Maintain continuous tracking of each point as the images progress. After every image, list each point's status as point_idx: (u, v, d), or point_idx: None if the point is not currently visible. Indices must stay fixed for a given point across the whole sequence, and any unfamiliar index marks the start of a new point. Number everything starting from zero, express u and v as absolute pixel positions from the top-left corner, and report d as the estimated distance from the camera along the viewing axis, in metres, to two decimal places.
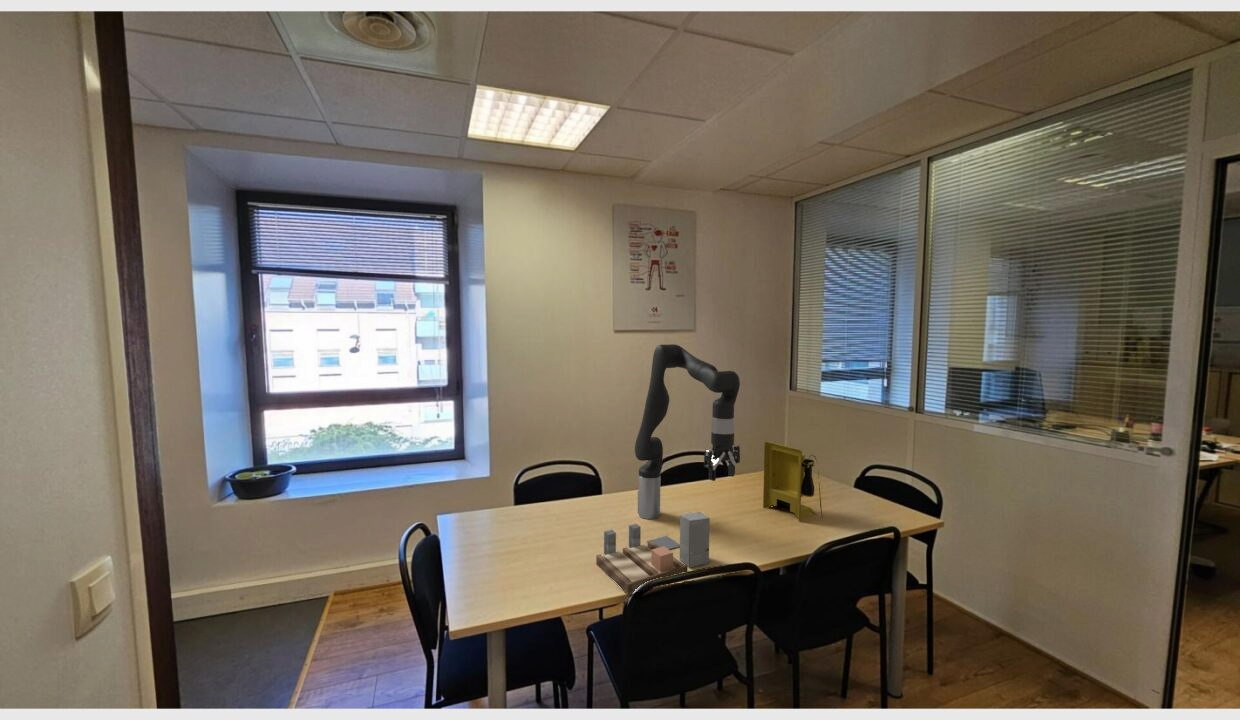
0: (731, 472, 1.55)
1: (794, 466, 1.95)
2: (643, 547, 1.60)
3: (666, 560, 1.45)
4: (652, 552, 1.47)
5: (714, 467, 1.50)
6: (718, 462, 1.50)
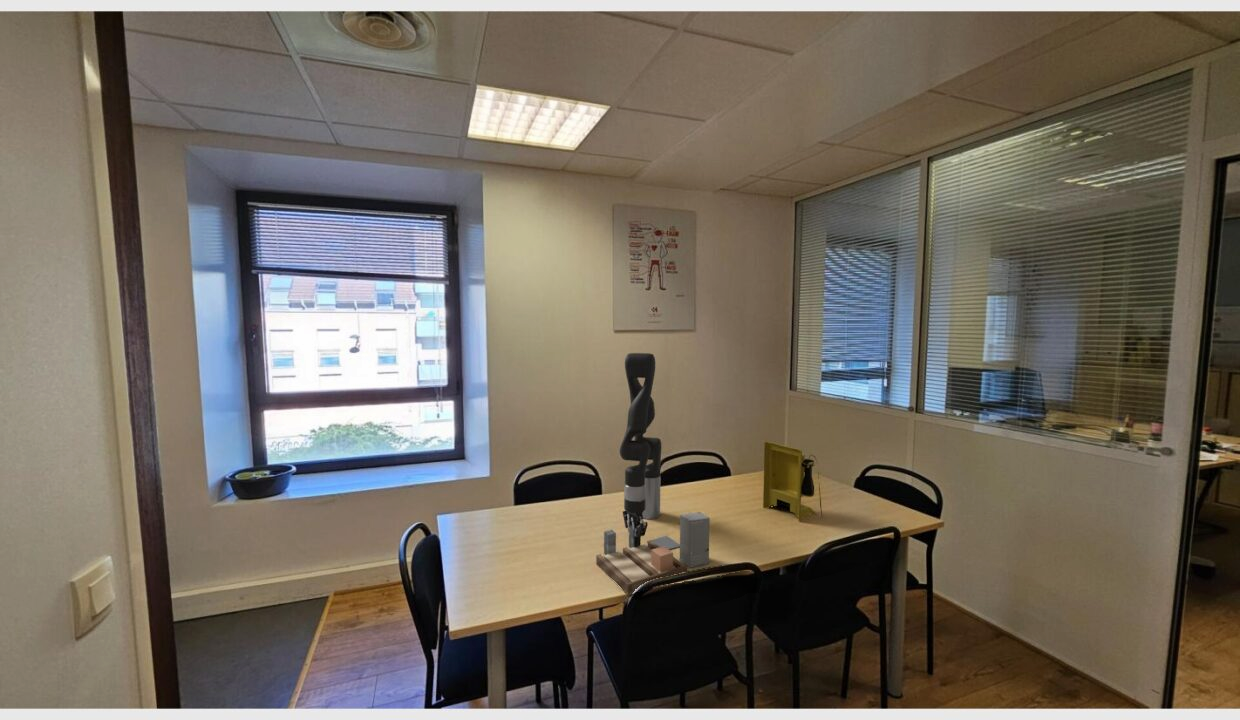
0: None
1: (794, 466, 1.95)
2: (643, 547, 1.60)
3: (666, 560, 1.45)
4: (652, 552, 1.47)
5: None
6: None
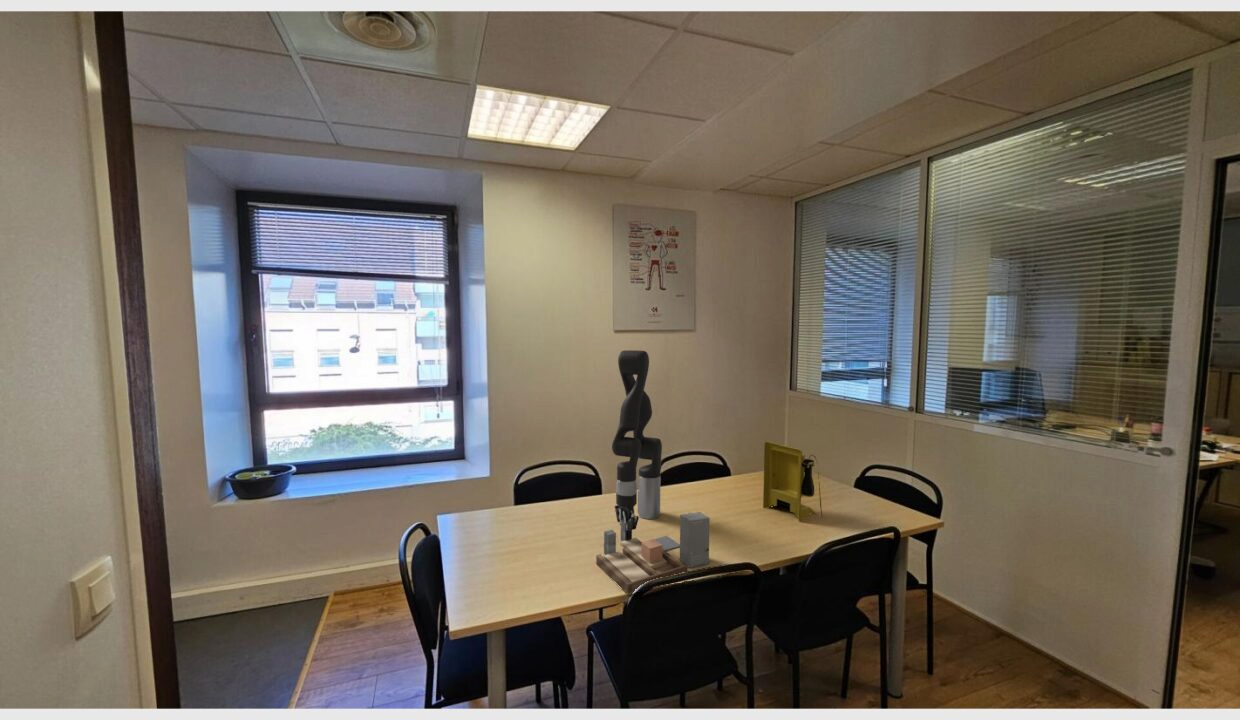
0: None
1: (794, 466, 1.95)
2: (634, 540, 1.65)
3: (656, 552, 1.50)
4: (642, 545, 1.52)
5: None
6: None
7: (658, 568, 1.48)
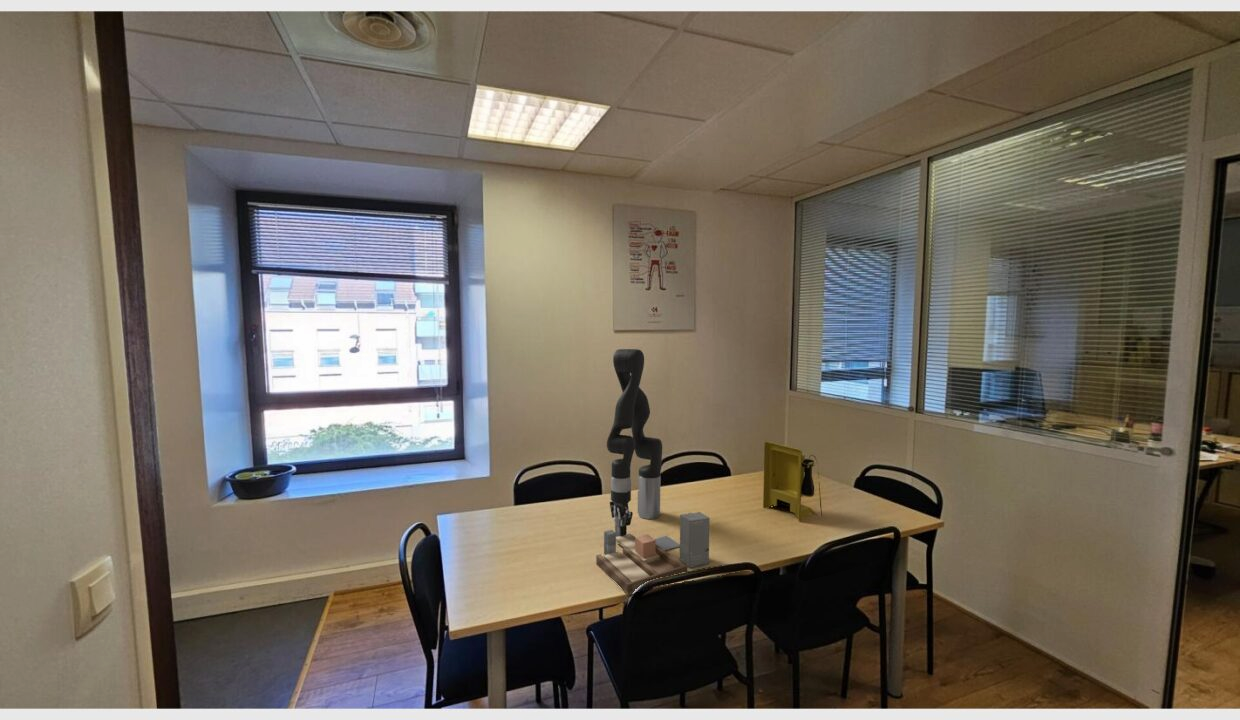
0: None
1: (794, 466, 1.95)
2: (628, 536, 1.68)
3: (649, 547, 1.54)
4: (636, 540, 1.56)
5: None
6: None
7: (658, 568, 1.48)
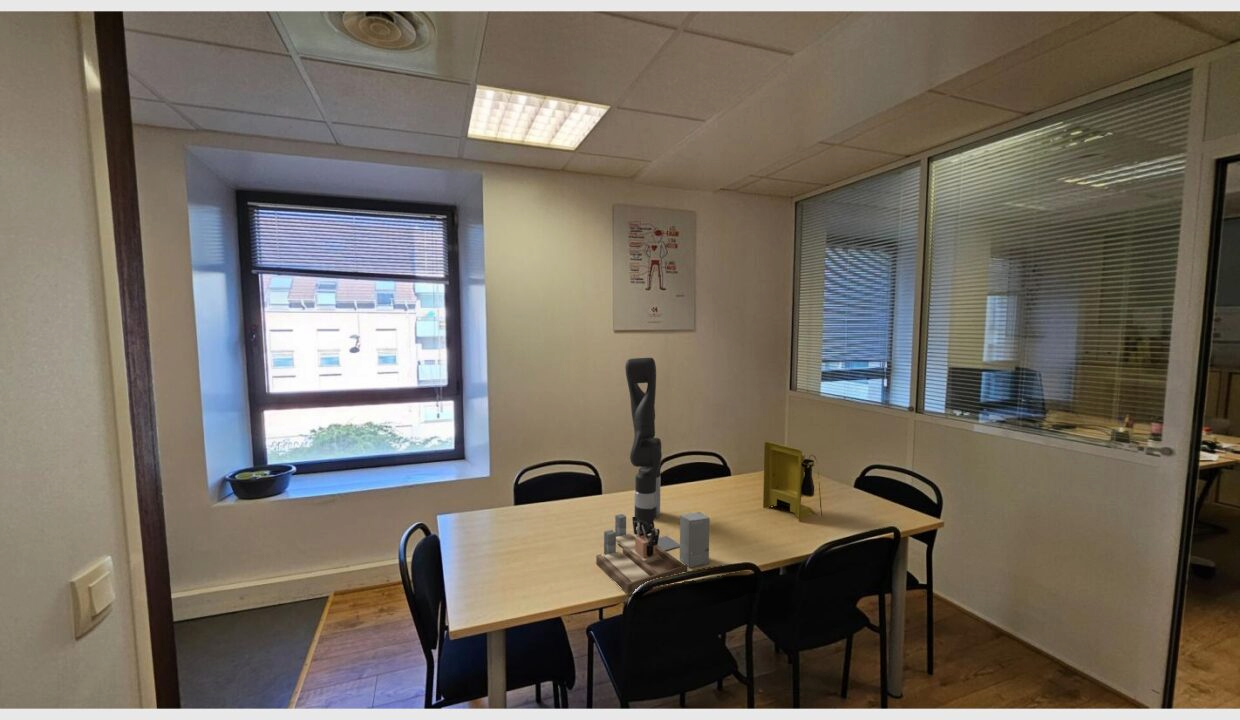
0: None
1: (794, 466, 1.95)
2: (628, 536, 1.68)
3: None
4: (636, 540, 1.56)
5: None
6: None
7: (658, 568, 1.48)
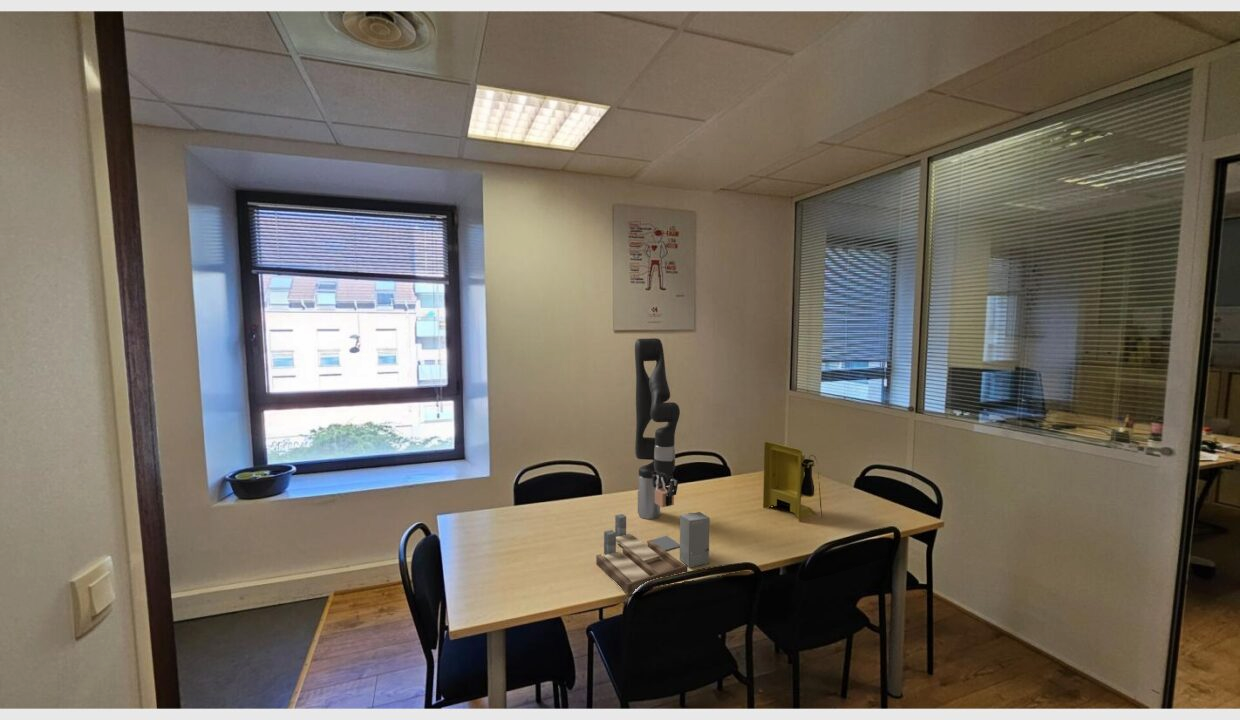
0: None
1: (794, 466, 1.95)
2: (628, 536, 1.68)
3: None
4: (655, 491, 1.66)
5: None
6: None
7: (658, 568, 1.48)
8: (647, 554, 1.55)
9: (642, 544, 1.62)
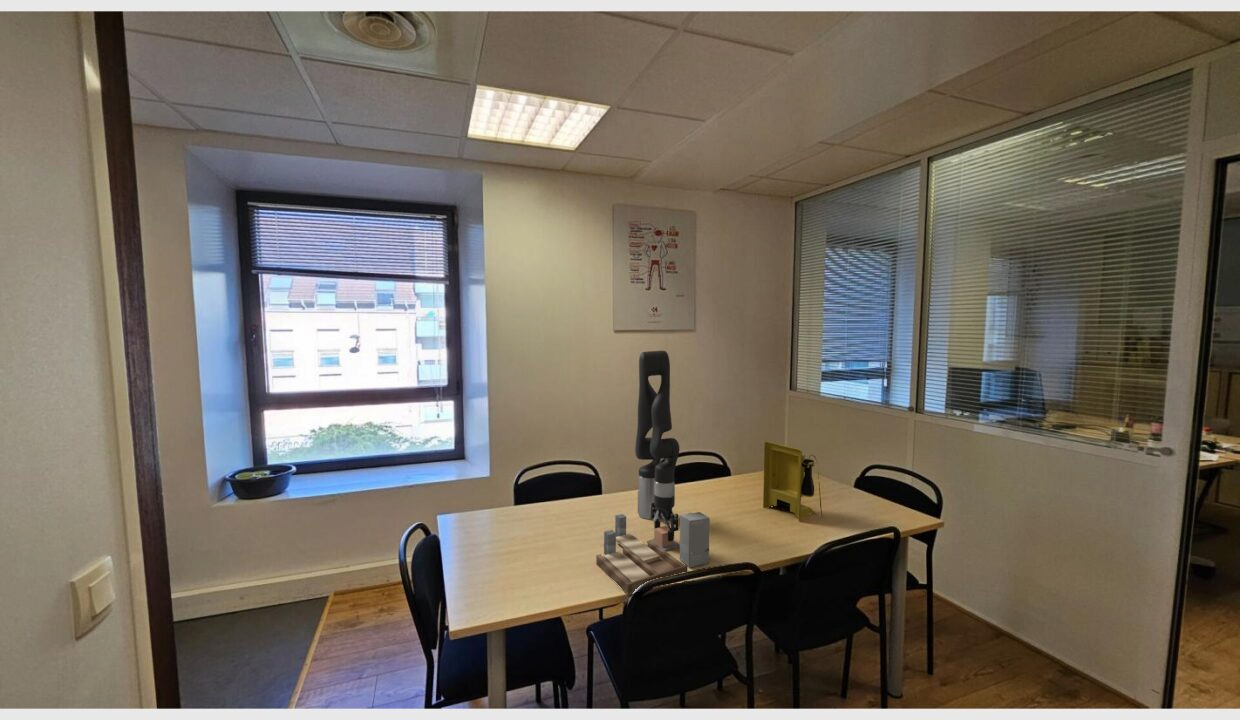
0: None
1: (794, 466, 1.95)
2: (628, 536, 1.68)
3: (667, 538, 1.65)
4: (655, 531, 1.67)
5: None
6: None
7: (658, 568, 1.48)
8: (647, 554, 1.55)
9: (642, 544, 1.62)
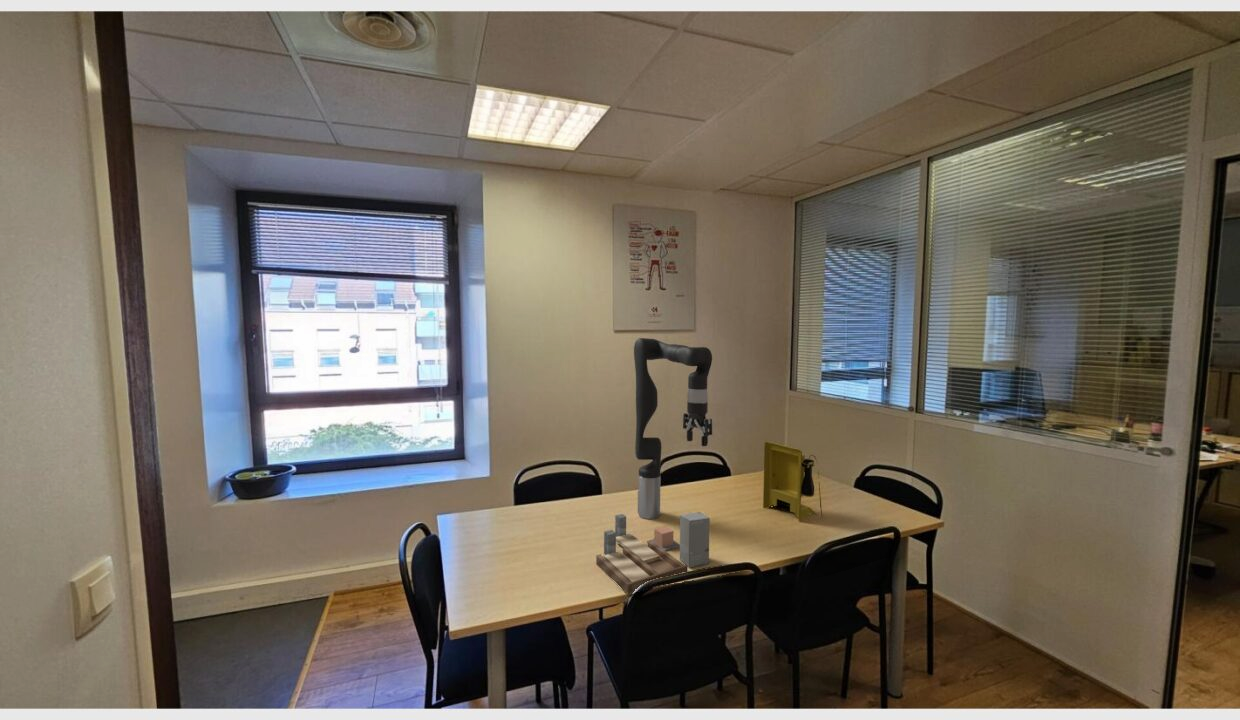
0: (691, 437, 1.74)
1: (794, 466, 1.95)
2: (628, 536, 1.68)
3: (667, 538, 1.65)
4: (655, 531, 1.67)
5: None
6: None
7: (658, 568, 1.48)
8: (647, 554, 1.55)
9: (642, 544, 1.62)
